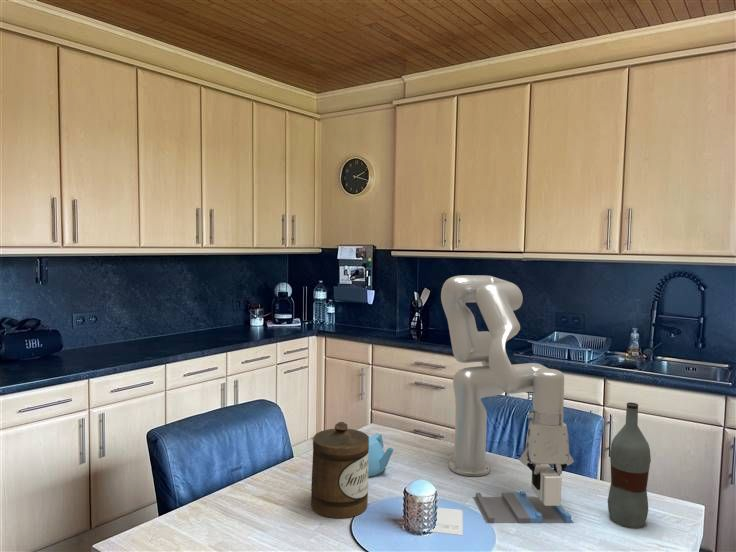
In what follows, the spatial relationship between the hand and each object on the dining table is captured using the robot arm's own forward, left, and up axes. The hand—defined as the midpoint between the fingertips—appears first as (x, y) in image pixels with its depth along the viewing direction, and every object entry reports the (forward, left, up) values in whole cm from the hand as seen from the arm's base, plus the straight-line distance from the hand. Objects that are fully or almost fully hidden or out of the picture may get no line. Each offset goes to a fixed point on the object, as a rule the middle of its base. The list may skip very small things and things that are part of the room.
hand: (545, 487), depth 140 cm
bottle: (+4, +20, -7) cm, 21 cm away
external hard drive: (+6, -27, -8) cm, 28 cm away
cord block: (0, 0, -2) cm, 2 cm away
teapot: (-27, -46, -7) cm, 54 cm away
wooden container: (-4, -53, -7) cm, 54 cm away
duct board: (0, -6, -7) cm, 9 cm away
